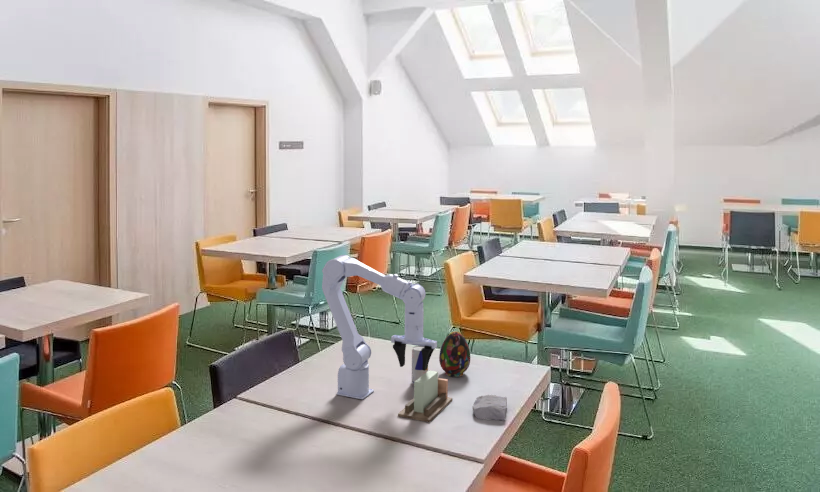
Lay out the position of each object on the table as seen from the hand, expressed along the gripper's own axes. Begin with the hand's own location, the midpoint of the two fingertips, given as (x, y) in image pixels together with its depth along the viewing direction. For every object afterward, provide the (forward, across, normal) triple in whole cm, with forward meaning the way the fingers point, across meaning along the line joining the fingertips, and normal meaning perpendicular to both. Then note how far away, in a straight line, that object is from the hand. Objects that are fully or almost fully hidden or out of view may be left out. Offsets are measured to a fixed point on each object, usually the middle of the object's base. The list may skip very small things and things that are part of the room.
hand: (413, 367), depth 198 cm
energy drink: (+11, -4, +14) cm, 18 cm away
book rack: (+10, +6, -4) cm, 13 cm away
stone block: (+11, +24, +2) cm, 26 cm away
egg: (+11, +3, +27) cm, 29 cm away
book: (+10, +6, -4) cm, 12 cm away
